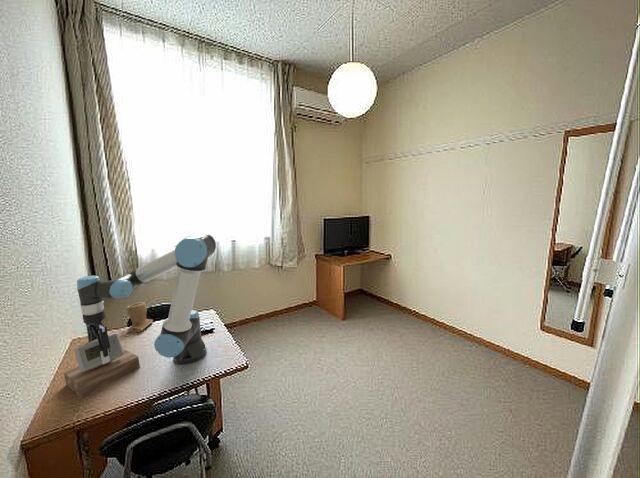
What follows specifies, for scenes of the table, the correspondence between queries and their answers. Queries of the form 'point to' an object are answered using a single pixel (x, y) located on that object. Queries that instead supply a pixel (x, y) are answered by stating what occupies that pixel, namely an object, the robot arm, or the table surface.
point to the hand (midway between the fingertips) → (102, 360)
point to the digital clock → (97, 352)
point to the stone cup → (138, 317)
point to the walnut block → (101, 374)
